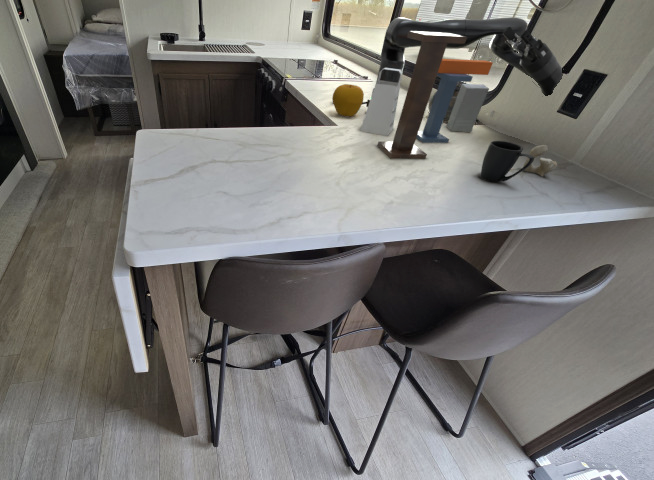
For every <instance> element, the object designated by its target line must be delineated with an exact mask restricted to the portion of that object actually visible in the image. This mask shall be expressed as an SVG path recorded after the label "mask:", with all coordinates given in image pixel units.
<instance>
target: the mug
mask: <svg viewBox="0 0 654 480" xmlns="http://www.w3.org/2000/svg"><path fill="white" fill-rule="evenodd" d="M523 150H524V148H523V146H521V145H519V144H517V143H514V142H510V141H505V140H492V141H490V143H489V145H488V147H487V149H486V152H485V154H484V157H483V160H482V164H481V169H480V175H479V176H480V178H481V179H482V180H484V181H487V182H491V183H500V182H507V181H509V180H511V179H512V178H514V177H515V176H517V175H518V174H520V173H521V172H524V171H523V170H525V169H526V168H527V167H529V166H530V165H531V164H532V165H533V163H534V161H535V158H534V157H533V156H531V155H529V153H523ZM520 157H525V158H527V157H528V158H529V159H530V160H529V162H528V163H527V164H526V165H525V166H524V165H523V166H524V167H521V169H519V170H517V171H515V172H514V173H513V174H510V175H508V173H509V172H510V171H511V170H512V168H513V167H514V166H515V165H516V163H517V162H518V159H519V158H520Z"/></svg>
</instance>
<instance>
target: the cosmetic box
mask: <svg viewBox="0 0 654 480" xmlns="http://www.w3.org/2000/svg"><path fill="white" fill-rule="evenodd" d="M489 90H490V88H489V87H488V86H486V85H485V84H480V83H479V84H478V83H477V84H476V83H461V85H460V88H459V91H458V92H459V93H458V96H457V99H456V102H455V104H454V107H453V110H452V112H451V115H450V118H449V120H448V121H447V123H446V128H447V129H448V130H449V131H450V132H465V133H472V131H473V128H474V126H475V124H476V121H477V119H478V116H479V114H480V112H481V109H482V106H483V104H484V102H485V100H486V97H487V95H488V92H489Z"/></svg>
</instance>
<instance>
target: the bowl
mask: <svg viewBox="0 0 654 480" xmlns="http://www.w3.org/2000/svg"><path fill="white" fill-rule="evenodd" d="M436 92H437V90H436V91H435V92H434V94H433V95H432V96H431V97H430V99H429V101H428V105H427V107H428V109H427V110H428V111H429V112H430V110H431V107H432V104H433V101H434V98H435V95H436ZM458 93H459V91H456V90H454V93H453V96H452V98H451V101H450V104H449V107H448V109H447V112H446V115H445V117H444V120H445V121H446V120H448V121H449V118H450V115H451V112H452V110H453V107H454V104H455V102H456V99H457V96H458Z"/></svg>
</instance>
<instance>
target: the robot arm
mask: <svg viewBox="0 0 654 480" xmlns="http://www.w3.org/2000/svg"><path fill="white" fill-rule="evenodd" d="M409 31H419V32H438V33H450V34H455V35H460V36H465V37H467V39H466V41H465V44H460V43H447V46H446V49H445V50H460V49H463V48H466V47H469V46H470V45H472V44H473V43H476V42H478V41H480V40H482V39H484V38H486V37H489V36H493V37H492V39H491V40H490V42H489V46H488V47H489V50H490V51H491V52H492V53H493V55H495V56H496V57H498V58H500V59H501V60H502V61H505V62H506V63H507V64H509V65H510V66H511V67H514V68H515V69H517V70H519V71H520V72H521V73H523V74H524V73H525V74H526V75H528V76H530V77H531V78H533V79H534V80H535V81H536V82H537V83H538V85H539V86H540V87H539V88H540V90H541V94H542V93H543V94H544V95H545V96H548V95H551V94H552V93H553V90H554V88H555V87H556V86H557V84H558V83H559V82H560V80H561V79H562V76H563V73H562V68H563V67H562V65H561V64H560V63H559V62H558V59H557V57H556V56H555V54H554V53H553V52H552V50H551V49H550V47H548V44H547V43H545V42H543V41H542V40H541V38H540V39H539V38H538V39H537V37H535V36H533V35H532V34H531V31H529V30H528V22H527V21H526V20H525V19H523V18H519V17H515V16H513V17H499V18H498V17H497V18H487V19H473V18H471V19H468V18H448V19H441V20H436V21H422V20H421V21H419V20H415V19H410V18H406V17H396V18H394V19H393V20H392V21H391V22H389V24H388V25H387V28H386V31H385V33H384V39H383V44H382V48H381V53H380V64H379V67H378V73H377V77H376V81H375V84H376V83H377V81H378V77H379V72H380V71H381V70H382V69H383V70H382V72H381V77H380V80H382V81H389V82H396V83H399V79H400V76H401V74H400V72H399V71H395V70H387V69H384V68H392V69H400V70H401V71H402V72H403V70H404V66H405V52H406V49H409V48H420V46H421V43H422V41H419V40H415V39H411V38H407V36H408V33H409ZM517 52H518V53H517ZM525 74H524V75H525ZM526 75H525V76H526ZM373 91H374V88H372V92H371V95H370V98H368V99H367V101H363V102H362V105H361V106H363V105H365V107H366V108H368V105H369V102H370V100H371V97H372V94H373ZM332 105H334V104H333V102H332Z"/></svg>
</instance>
